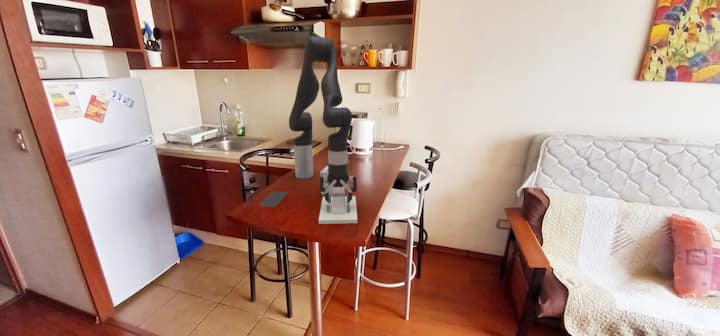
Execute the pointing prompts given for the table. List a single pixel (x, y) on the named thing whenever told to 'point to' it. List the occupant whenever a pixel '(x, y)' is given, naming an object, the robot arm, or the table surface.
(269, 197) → the smartphone
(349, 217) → the peg board
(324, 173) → the light bulb box
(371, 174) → the table surface
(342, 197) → the plate
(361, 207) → the table surface
